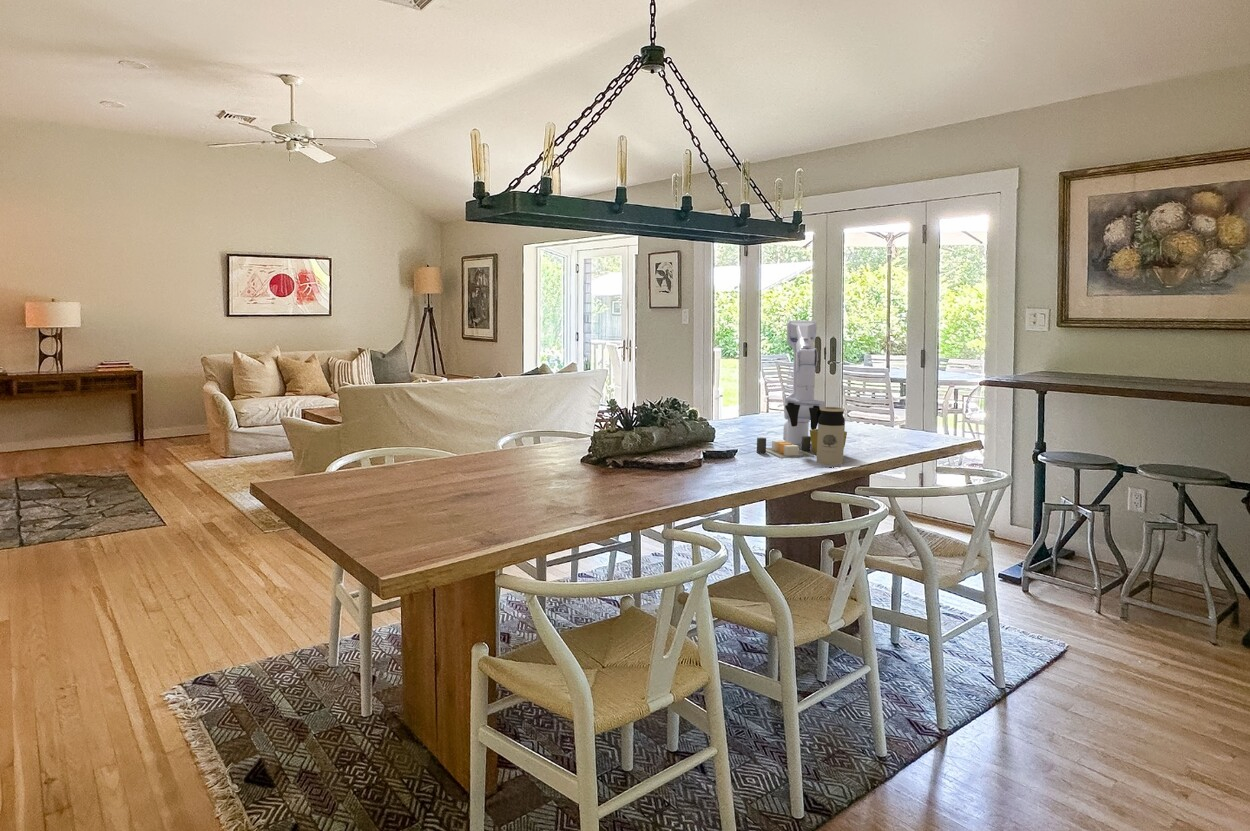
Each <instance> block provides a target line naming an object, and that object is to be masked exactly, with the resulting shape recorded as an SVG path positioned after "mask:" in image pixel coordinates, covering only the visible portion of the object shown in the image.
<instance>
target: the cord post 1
mask: <svg viewBox="0 0 1250 831" xmlns="http://www.w3.org/2000/svg"><path fill="white" fill-rule="evenodd" d="M766 448H767V437H757V438H756V453H757V454H760V455H761V454H762V455H765V454H766V453H767V452H766Z"/></svg>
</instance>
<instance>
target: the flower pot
mask: <svg viewBox="0 0 1250 831" xmlns="http://www.w3.org/2000/svg"><path fill="white" fill-rule="evenodd" d="M847 434H848V431H846V430H845V431H844V448H845V446H846V441H847ZM809 436H810V438H811V445H810V446H811V448H812V450H813V453H814V454H816V455H817V438H818V428H816V429H814V430H812V429H809Z"/></svg>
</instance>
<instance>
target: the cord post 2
mask: <svg viewBox="0 0 1250 831" xmlns="http://www.w3.org/2000/svg"><path fill="white" fill-rule="evenodd" d="M811 446H812V445H811V438H810V435H808V436H802V439H801V445H800V450H802V451H805V452H807V453H810V452H811Z"/></svg>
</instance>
